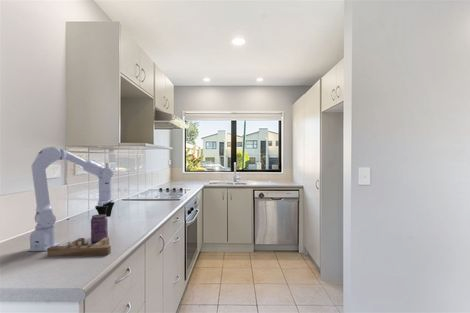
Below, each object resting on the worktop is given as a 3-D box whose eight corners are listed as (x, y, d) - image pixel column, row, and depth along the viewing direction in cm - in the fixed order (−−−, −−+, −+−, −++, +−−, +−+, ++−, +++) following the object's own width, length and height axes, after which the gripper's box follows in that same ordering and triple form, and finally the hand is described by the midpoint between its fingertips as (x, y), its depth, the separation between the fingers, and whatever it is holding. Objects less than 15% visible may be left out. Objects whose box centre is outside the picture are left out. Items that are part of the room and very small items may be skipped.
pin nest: (107, 255, 117) (107, 242, 117) (47, 256, 116) (47, 243, 116) (121, 244, 131) (121, 232, 131) (67, 244, 131) (67, 233, 131)
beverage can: (103, 238, 141) (102, 213, 141) (110, 240, 137) (110, 215, 137) (88, 241, 136) (88, 215, 136) (95, 244, 131) (95, 217, 131)
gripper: (108, 192, 139) (108, 221, 139) (117, 189, 153) (118, 215, 153) (92, 193, 138) (93, 221, 138) (104, 189, 153) (104, 215, 153)
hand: (105, 218), depth 146 cm, fingers open, 7 cm apart
